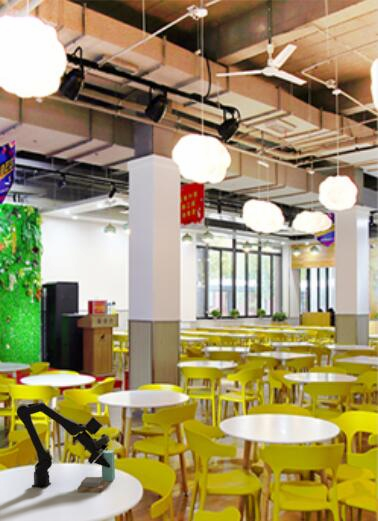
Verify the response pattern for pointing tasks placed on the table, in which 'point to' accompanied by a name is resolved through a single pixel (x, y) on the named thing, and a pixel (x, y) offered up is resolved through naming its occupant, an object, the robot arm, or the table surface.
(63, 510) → the table surface
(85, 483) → the charcoal tile
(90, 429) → the robot arm
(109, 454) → the teal pillar
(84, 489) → the walnut slab
